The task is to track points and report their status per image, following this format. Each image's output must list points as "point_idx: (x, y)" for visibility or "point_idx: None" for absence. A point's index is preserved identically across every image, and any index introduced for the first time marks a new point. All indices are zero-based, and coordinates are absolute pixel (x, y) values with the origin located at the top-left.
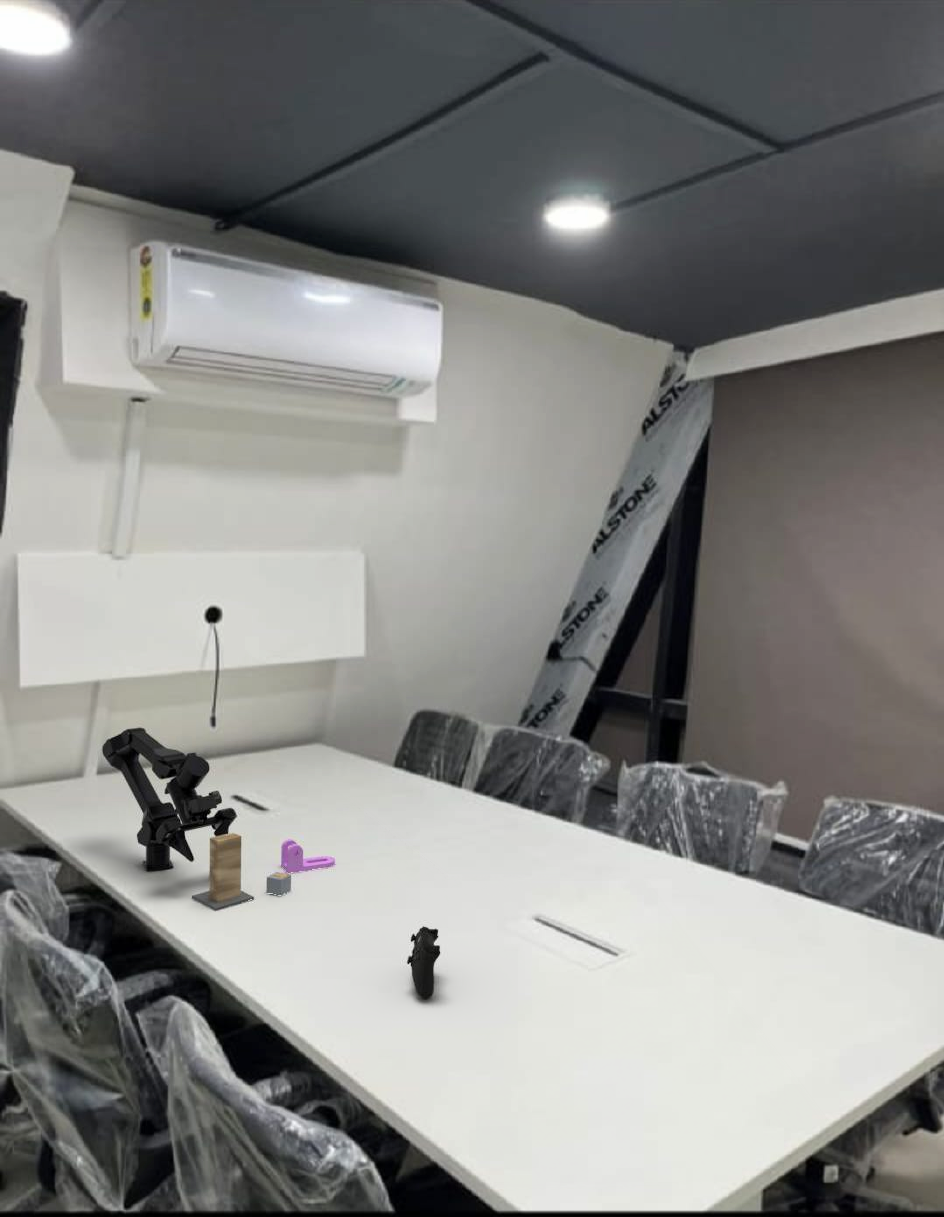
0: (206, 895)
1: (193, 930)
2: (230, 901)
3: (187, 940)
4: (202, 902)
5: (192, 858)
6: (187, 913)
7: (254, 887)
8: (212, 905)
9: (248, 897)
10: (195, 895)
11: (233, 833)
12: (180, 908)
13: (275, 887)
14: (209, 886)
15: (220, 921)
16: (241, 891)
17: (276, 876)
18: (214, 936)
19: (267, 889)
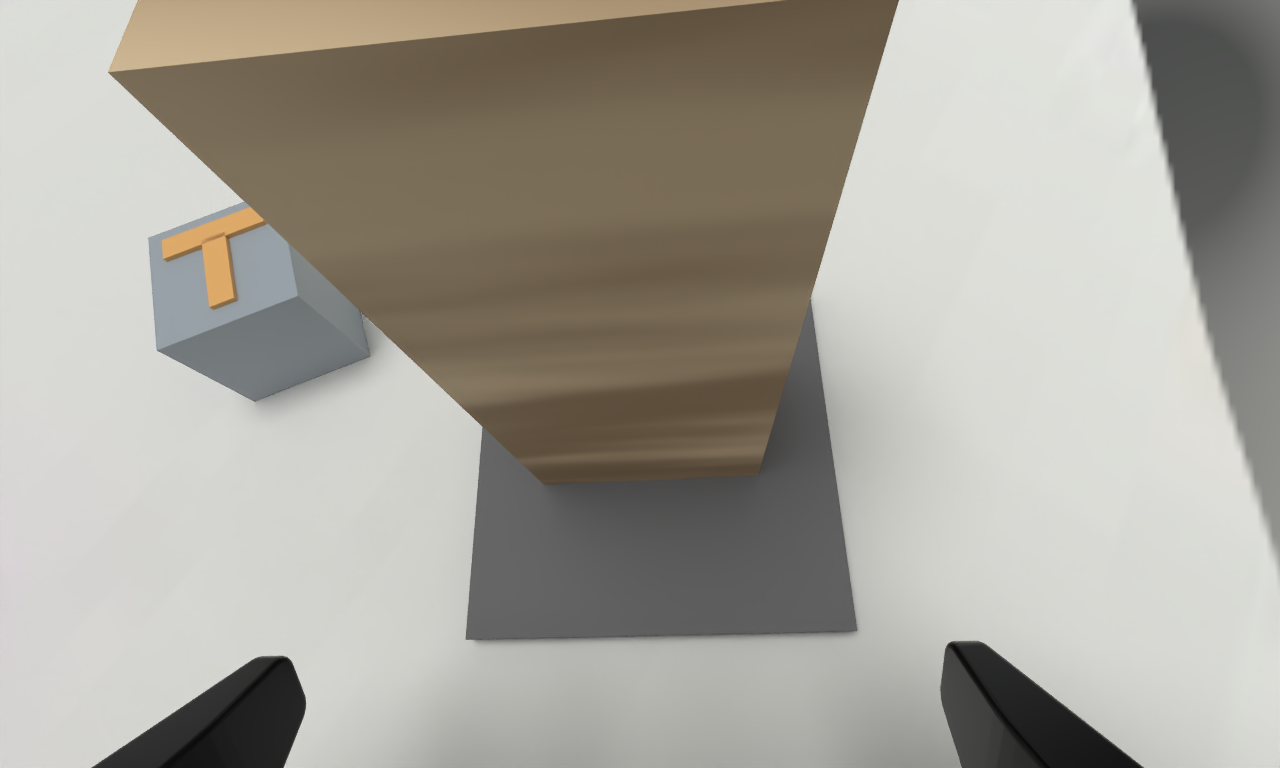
0: (747, 546)
1: (1055, 119)
2: None
3: (1131, 33)
4: (830, 455)
5: (987, 650)
6: (1000, 363)
7: (342, 508)
8: (805, 335)
9: None
10: (826, 611)
11: (166, 7)
12: (1018, 482)
13: None
14: (766, 444)
15: (856, 144)
16: (489, 446)
17: (242, 266)
18: (972, 10)
19: (353, 335)
